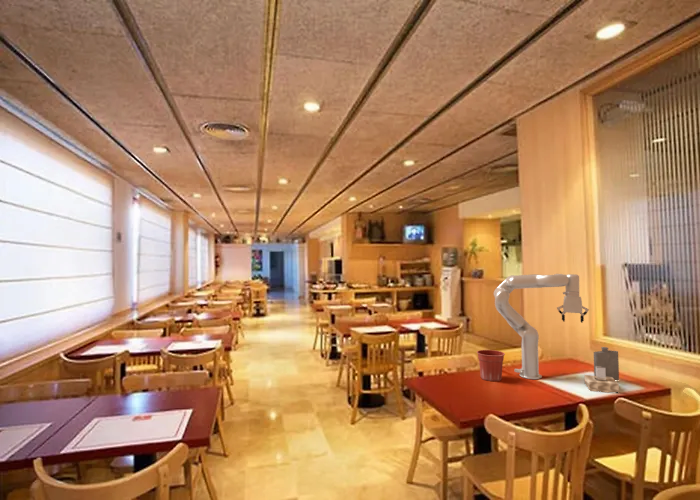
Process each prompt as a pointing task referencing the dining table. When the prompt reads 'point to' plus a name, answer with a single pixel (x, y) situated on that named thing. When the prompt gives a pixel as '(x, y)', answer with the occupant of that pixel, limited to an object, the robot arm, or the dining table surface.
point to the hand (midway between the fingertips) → (572, 321)
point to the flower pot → (491, 364)
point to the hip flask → (607, 362)
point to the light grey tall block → (600, 373)
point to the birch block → (601, 384)
